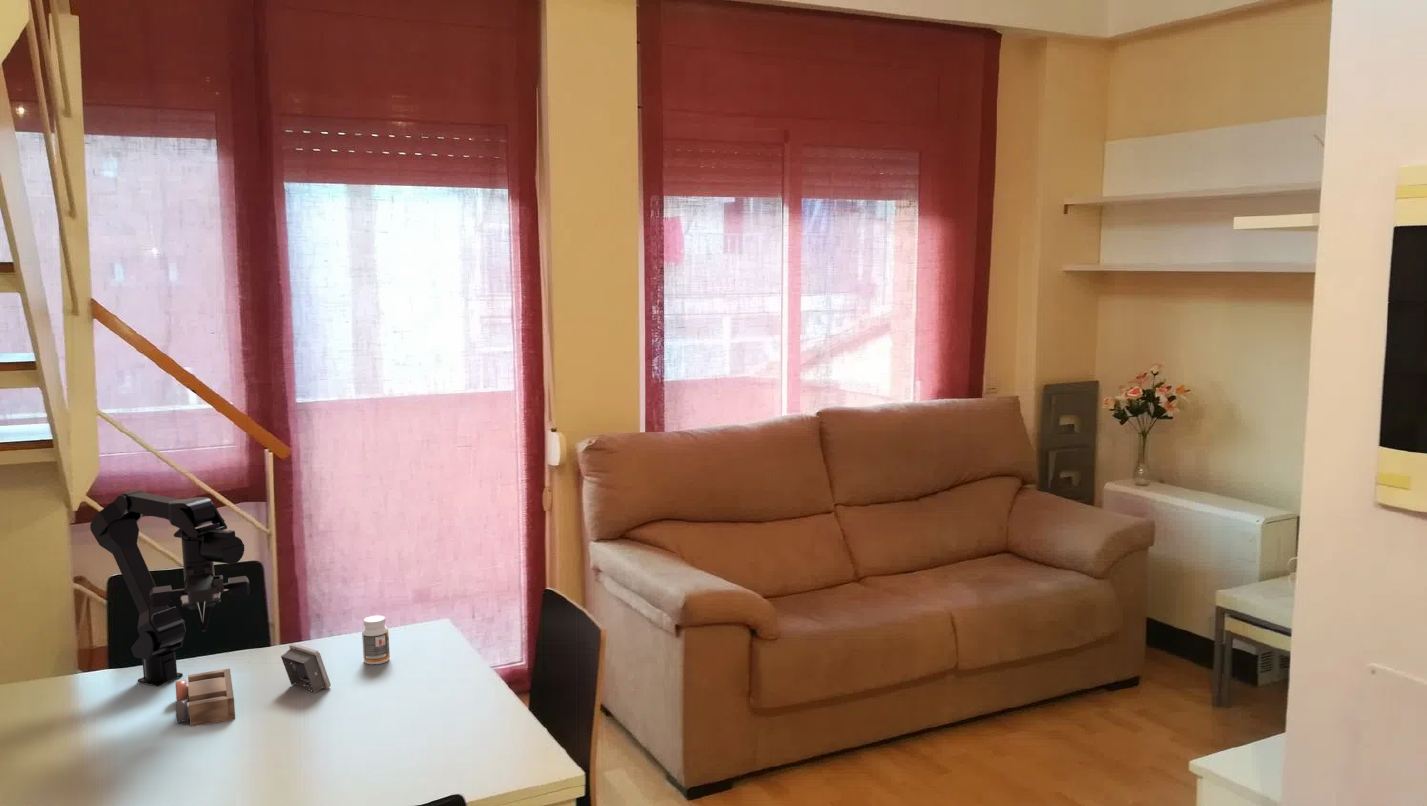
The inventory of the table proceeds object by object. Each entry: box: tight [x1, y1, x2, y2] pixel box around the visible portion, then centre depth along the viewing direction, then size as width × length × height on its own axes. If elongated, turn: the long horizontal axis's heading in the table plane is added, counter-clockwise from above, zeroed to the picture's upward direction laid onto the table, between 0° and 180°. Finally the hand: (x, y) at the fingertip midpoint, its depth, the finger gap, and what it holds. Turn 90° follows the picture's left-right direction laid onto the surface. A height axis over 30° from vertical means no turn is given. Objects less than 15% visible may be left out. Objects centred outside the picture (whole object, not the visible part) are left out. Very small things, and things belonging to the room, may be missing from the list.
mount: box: [187, 667, 236, 727], centre depth 217 cm, size 8×17×4 cm, turn 27°
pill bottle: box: [361, 615, 391, 666], centre depth 241 cm, size 6×6×10 cm
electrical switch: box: [280, 643, 332, 694], centre depth 225 cm, size 9×5×9 cm, turn 57°
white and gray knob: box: [174, 696, 225, 723], centre depth 211 cm, size 9×4×4 cm, turn 117°
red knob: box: [174, 677, 222, 701], centre depth 221 cm, size 9×4×4 cm, turn 117°
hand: (203, 630), depth 224 cm, fingers closed
